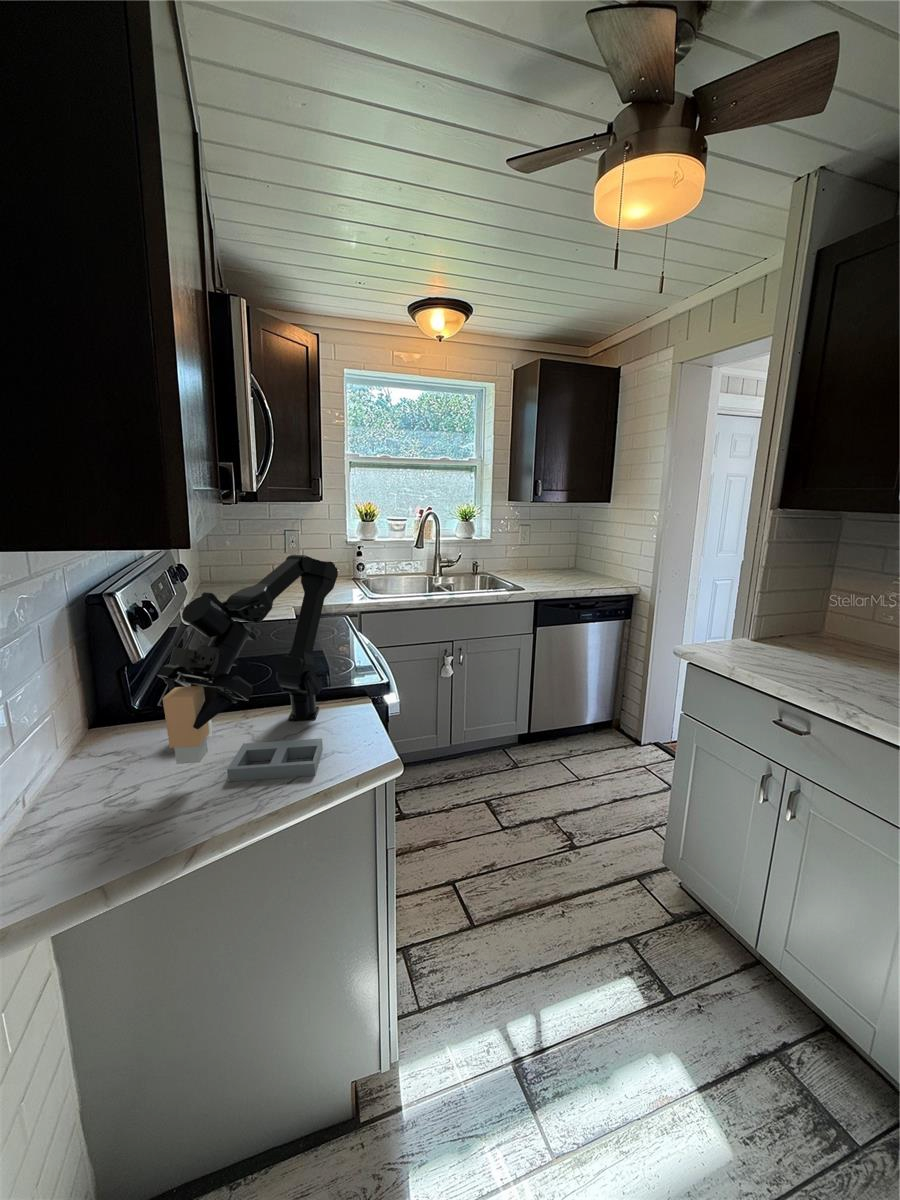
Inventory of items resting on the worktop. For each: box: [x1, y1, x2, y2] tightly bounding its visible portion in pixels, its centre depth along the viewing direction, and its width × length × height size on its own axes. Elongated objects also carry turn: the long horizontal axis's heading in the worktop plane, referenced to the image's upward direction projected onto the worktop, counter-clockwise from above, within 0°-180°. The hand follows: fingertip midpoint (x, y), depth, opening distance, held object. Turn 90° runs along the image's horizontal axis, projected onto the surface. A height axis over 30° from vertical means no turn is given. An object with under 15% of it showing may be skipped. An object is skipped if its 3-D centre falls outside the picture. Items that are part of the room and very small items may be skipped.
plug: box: [162, 685, 209, 765], centre depth 88 cm, size 5×5×13 cm
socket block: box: [226, 738, 324, 783], centre depth 97 cm, size 10×16×2 cm, turn 97°
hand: (181, 725), depth 87 cm, fingers closed on plug, 7 cm apart
